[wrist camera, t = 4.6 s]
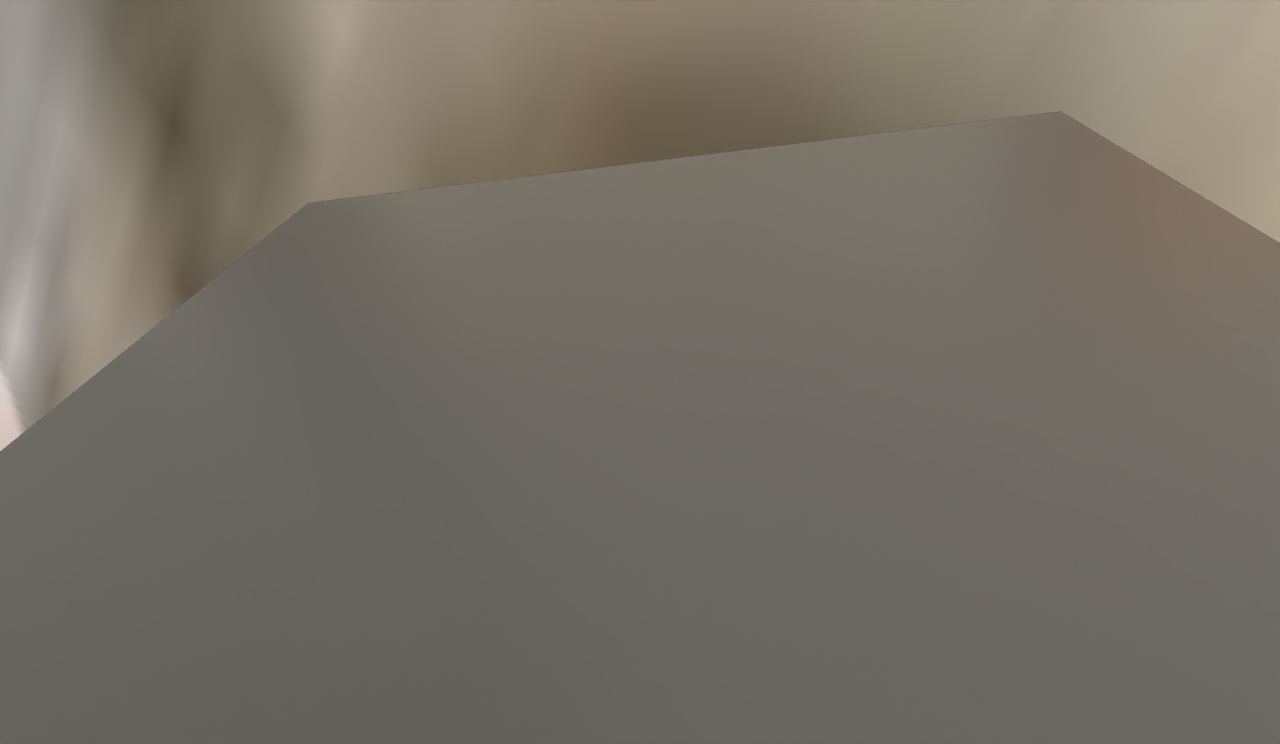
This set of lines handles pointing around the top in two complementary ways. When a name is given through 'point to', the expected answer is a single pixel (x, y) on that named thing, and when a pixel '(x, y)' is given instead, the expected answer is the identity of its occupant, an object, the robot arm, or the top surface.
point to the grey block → (681, 466)
